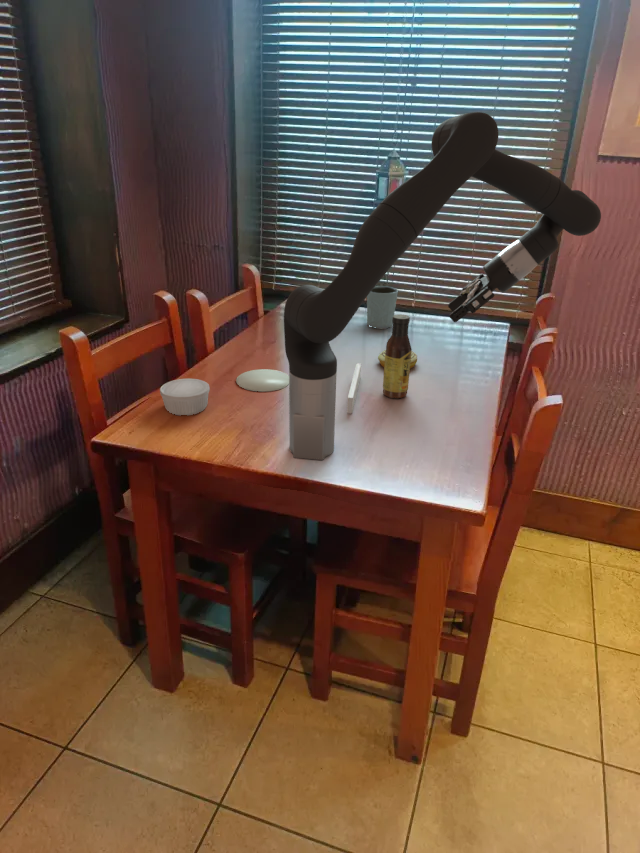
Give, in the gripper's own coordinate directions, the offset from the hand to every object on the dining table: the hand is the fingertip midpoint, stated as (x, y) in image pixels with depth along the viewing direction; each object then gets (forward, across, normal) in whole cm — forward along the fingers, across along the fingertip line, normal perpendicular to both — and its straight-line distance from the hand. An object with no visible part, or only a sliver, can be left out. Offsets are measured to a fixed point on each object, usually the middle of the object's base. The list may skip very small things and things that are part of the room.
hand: (450, 313), depth 138 cm
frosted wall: (+30, +2, 0) cm, 30 cm away
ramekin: (+57, +17, -26) cm, 65 cm away
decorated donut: (+23, -21, +7) cm, 32 cm away
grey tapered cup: (+28, -56, +2) cm, 63 cm away
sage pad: (+47, -2, -17) cm, 50 cm away
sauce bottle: (+23, 0, +7) cm, 24 cm away
